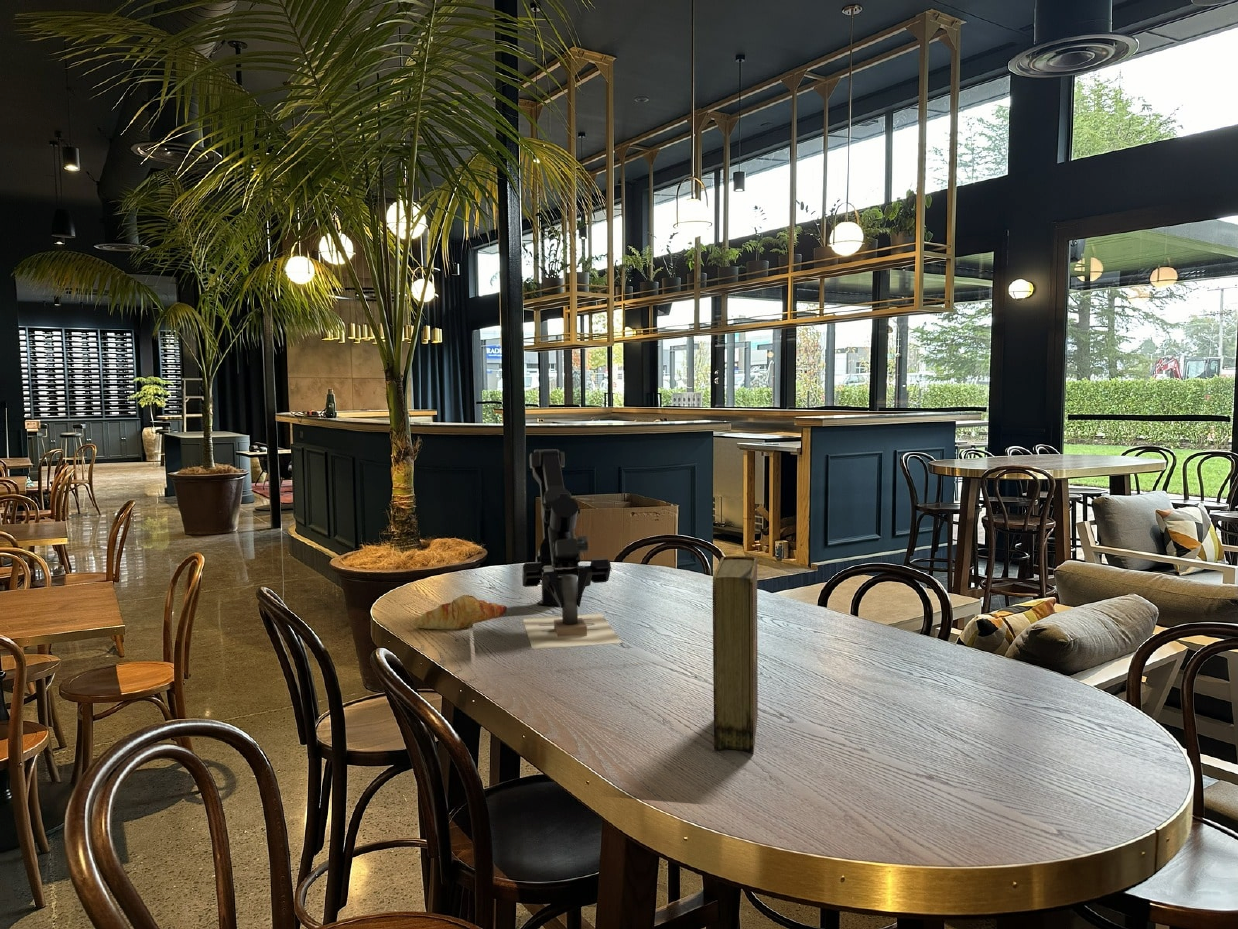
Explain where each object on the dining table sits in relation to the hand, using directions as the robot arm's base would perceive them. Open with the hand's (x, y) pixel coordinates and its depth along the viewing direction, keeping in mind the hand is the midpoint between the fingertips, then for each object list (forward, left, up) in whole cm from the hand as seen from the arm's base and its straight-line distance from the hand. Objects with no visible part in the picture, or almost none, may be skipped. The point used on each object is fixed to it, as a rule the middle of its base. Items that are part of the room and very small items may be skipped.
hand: (570, 606), depth 175 cm
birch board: (-3, -1, -7) cm, 8 cm away
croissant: (-6, -28, -7) cm, 30 cm away
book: (+41, +40, -7) cm, 58 cm away
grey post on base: (-1, -1, -6) cm, 6 cm away
